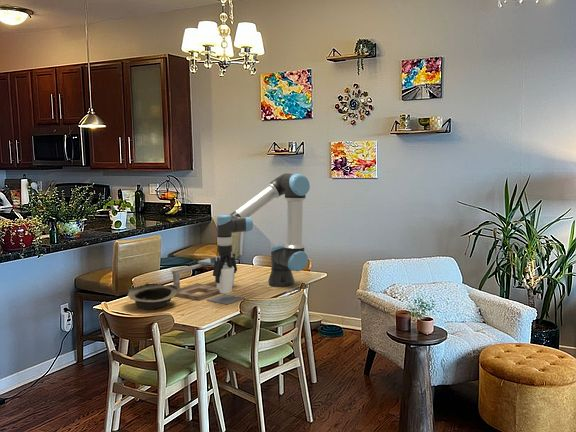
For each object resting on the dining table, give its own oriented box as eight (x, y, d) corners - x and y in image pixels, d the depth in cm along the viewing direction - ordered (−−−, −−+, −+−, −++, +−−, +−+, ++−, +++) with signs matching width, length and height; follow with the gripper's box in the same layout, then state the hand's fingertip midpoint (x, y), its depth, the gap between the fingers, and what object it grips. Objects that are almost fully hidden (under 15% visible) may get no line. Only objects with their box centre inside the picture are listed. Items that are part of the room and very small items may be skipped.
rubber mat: (244, 298, 289) (244, 297, 289) (227, 304, 277) (227, 303, 277) (224, 294, 296) (224, 294, 296) (207, 300, 285) (206, 299, 285)
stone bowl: (157, 296, 295) (157, 279, 293) (187, 307, 279) (188, 290, 278) (117, 305, 276) (117, 288, 274) (147, 318, 260) (148, 299, 259)
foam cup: (236, 289, 290) (235, 265, 289) (232, 294, 281) (232, 269, 280) (218, 289, 291) (218, 265, 290) (214, 293, 282) (214, 269, 281)
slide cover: (238, 262, 315) (238, 255, 314) (222, 266, 303) (222, 259, 303) (214, 259, 325) (214, 252, 324) (198, 263, 313) (197, 255, 313)
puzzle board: (245, 285, 318) (244, 262, 316) (198, 300, 285) (197, 275, 284) (216, 280, 330) (216, 258, 328) (168, 295, 298) (168, 270, 296)
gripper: (232, 241, 295) (233, 281, 297) (204, 247, 276) (205, 290, 279) (243, 242, 290) (244, 283, 293) (215, 248, 272) (216, 292, 275)
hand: (225, 286), depth 286 cm, fingers closed on foam cup, 9 cm apart
